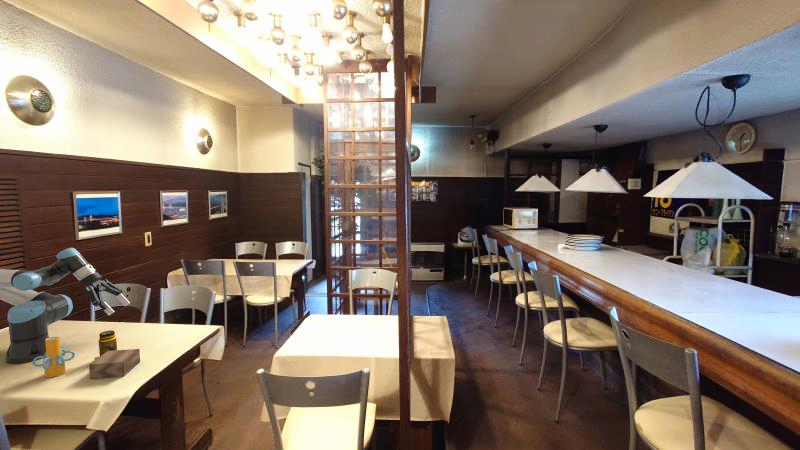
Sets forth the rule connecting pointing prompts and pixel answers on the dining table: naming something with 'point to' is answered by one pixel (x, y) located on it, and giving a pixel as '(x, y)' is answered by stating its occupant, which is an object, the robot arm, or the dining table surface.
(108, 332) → the condiment
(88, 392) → the dining table surface
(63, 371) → the cylinder
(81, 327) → the dining table surface
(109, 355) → the riser
